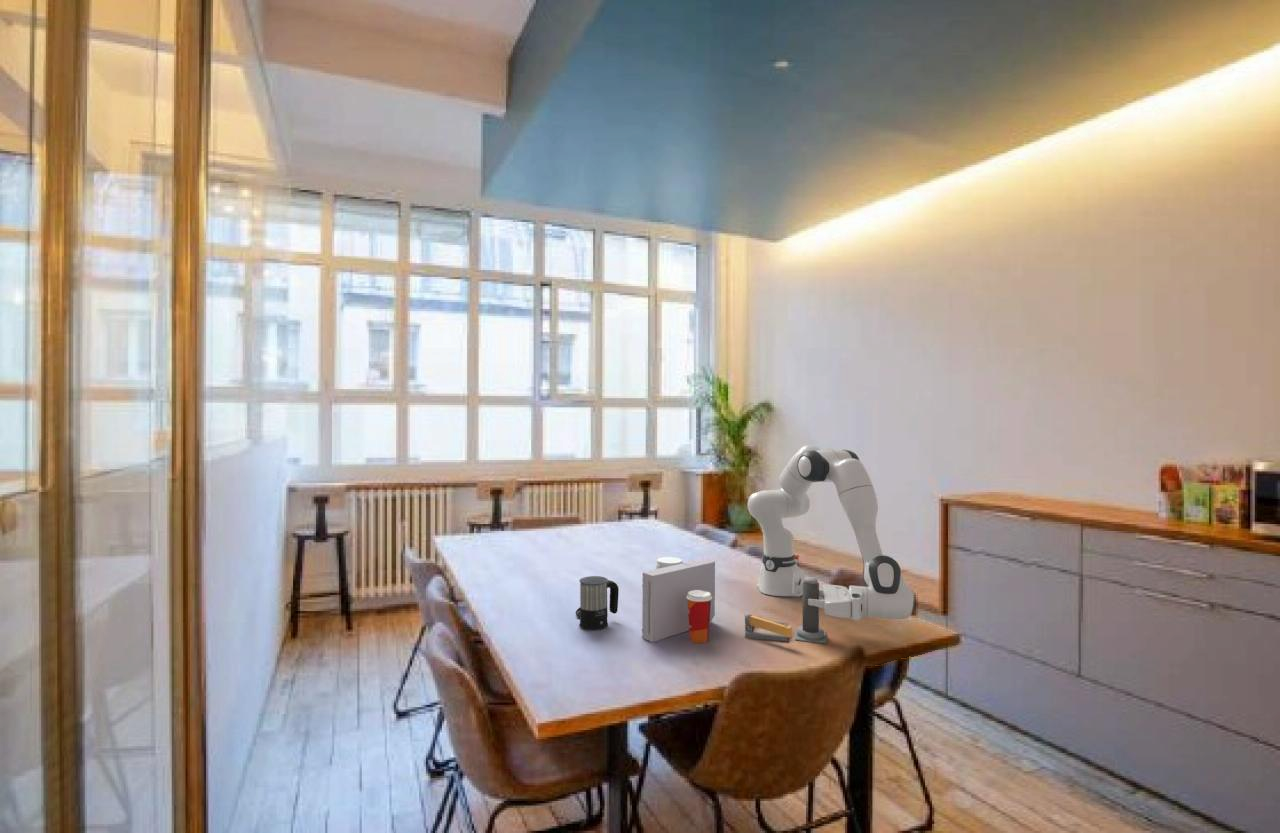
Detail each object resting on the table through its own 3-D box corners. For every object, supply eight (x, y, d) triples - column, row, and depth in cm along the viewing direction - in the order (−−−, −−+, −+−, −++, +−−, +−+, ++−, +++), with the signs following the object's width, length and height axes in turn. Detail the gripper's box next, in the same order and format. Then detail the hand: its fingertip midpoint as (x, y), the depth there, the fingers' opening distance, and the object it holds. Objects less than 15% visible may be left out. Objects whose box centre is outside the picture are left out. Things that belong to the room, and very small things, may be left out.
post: (745, 632, 186) (745, 622, 186) (751, 633, 185) (751, 623, 185) (744, 635, 184) (744, 624, 184) (751, 635, 184) (751, 625, 184)
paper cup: (695, 633, 186) (695, 587, 186) (716, 639, 181) (716, 592, 181) (680, 640, 180) (681, 593, 180) (702, 646, 175) (702, 598, 175)
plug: (797, 629, 188) (797, 575, 188) (823, 631, 186) (824, 577, 186) (797, 638, 180) (797, 582, 180) (824, 641, 178) (825, 584, 178)
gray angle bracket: (748, 623, 194) (748, 619, 194) (788, 627, 191) (788, 622, 191) (745, 637, 182) (745, 632, 182) (787, 641, 179) (787, 637, 179)
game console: (639, 637, 182) (639, 571, 182) (701, 617, 200) (702, 558, 200) (651, 642, 178) (652, 575, 178) (714, 622, 195) (715, 561, 195)
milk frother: (595, 633, 185) (595, 585, 185) (557, 623, 194) (557, 577, 194) (622, 620, 197) (622, 575, 197) (585, 611, 206) (585, 568, 206)
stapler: (743, 623, 185) (743, 615, 185) (747, 621, 186) (747, 613, 186) (787, 637, 173) (787, 628, 173) (792, 635, 175) (792, 626, 175)
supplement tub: (651, 602, 216) (651, 561, 216) (661, 594, 225) (661, 555, 225) (676, 605, 212) (677, 564, 212) (686, 598, 221) (686, 558, 221)
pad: (795, 629, 189) (795, 628, 189) (825, 632, 186) (825, 631, 186) (795, 640, 180) (795, 639, 180) (826, 643, 178) (826, 642, 178)
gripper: (852, 581, 190) (807, 577, 193) (858, 600, 170) (808, 596, 174) (852, 601, 190) (807, 597, 194) (858, 622, 170) (808, 618, 174)
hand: (807, 597), depth 183 cm, fingers open, 7 cm apart
